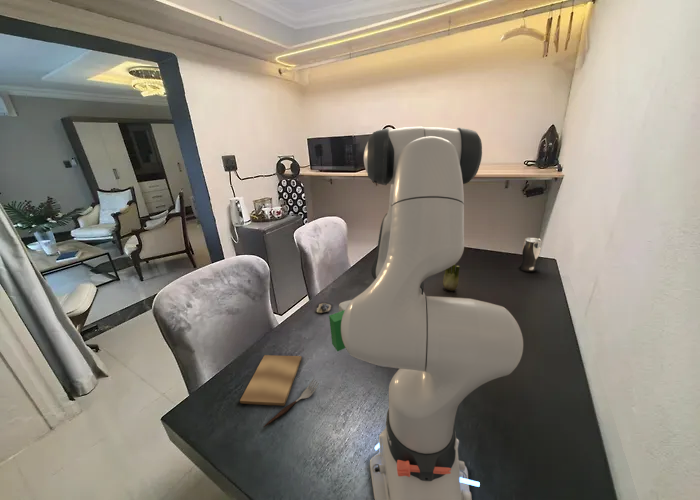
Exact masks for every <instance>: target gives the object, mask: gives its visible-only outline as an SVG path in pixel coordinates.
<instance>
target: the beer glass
mask: <svg viewBox="0 0 700 500" xmlns="http://www.w3.org/2000/svg"><path fill="white" fill-rule="evenodd" d="M542 243H543V240H542V239H541V238H537V237H526V238H524V242H523V245H522V249H521V250H522V251H521V254H522V261H521V263H520V267H519V269H520V270H521V271H522V272H527V273H533V272H535V271H536V264H537V260H538V259H539V256H540V253H541V249H542Z"/></svg>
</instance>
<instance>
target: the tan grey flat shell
mask: <svg viewBox="0 0 700 500" xmlns="http://www.w3.org/2000/svg"><path fill="white" fill-rule="evenodd" d="M332 307H333V306H332V305H331V304H330V303H326V302H322V303H319V304H318V307H317V308H316V309H315V313H318V314H322V313H326V312H327V313H328V312H331V309H332Z"/></svg>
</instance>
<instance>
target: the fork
mask: <svg viewBox="0 0 700 500" xmlns="http://www.w3.org/2000/svg"><path fill="white" fill-rule="evenodd" d="M319 384H320V382H318V381H316V379H315V378H313V379H312V381H311V382H310V383H309V384H308V386H307V387H306V388H305V390H303V392H302V393H301V395H300V396H299V397H298V398H297V399H296V400H293V402H290V403H289V404H288V405H285V406H284V408H282V409H281V410H279V412H278V413H276V415H274V416H273V417H272V418H271V419H269V421H268V422H266V423H265V424H264V425H263V428H265V427H267V426H269V425H270V424H272V423H273V422H275V421H276V420H277V419H279V418H280V417H282V416H283V415H285V414H286V413H287V412H288V411H290V409H291V408H292V407H294V406H295V405H296V404H297V403H298V402H299V401H300V400H306V399H309V398H311V396H312V395H313V394H314V393H315V391H316V389H317V387H318V386H319Z"/></svg>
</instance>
